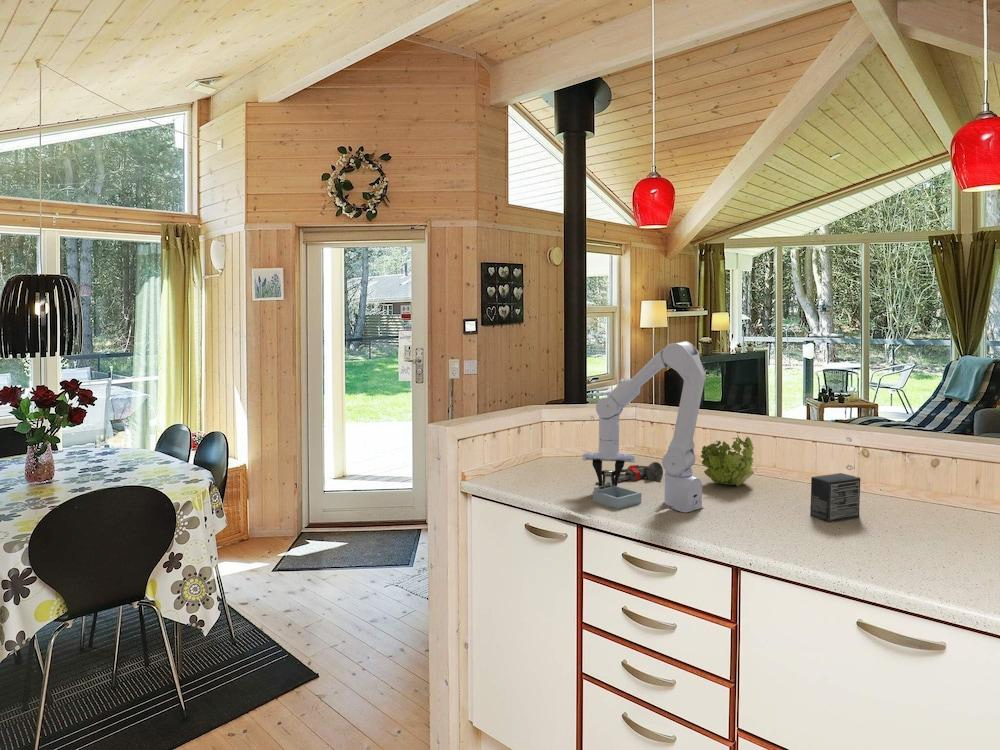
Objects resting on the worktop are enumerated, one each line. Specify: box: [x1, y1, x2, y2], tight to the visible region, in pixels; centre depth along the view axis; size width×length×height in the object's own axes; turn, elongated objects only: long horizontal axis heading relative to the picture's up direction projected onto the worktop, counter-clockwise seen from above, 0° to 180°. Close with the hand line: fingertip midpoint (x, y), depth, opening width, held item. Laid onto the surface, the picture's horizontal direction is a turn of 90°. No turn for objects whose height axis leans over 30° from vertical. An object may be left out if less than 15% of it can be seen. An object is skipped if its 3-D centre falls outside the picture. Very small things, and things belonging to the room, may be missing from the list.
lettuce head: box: [700, 435, 755, 488], centre depth 205 cm, size 18×16×16 cm
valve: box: [595, 461, 664, 486], centre depth 210 cm, size 6×26×15 cm
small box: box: [809, 472, 861, 523], centre depth 173 cm, size 11×6×10 cm, turn 111°
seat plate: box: [593, 486, 603, 491], centre depth 194 cm, size 6×6×2 cm
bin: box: [592, 485, 642, 510], centre depth 184 cm, size 9×9×4 cm
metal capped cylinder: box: [602, 469, 615, 489], centre depth 194 cm, size 4×4×6 cm
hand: (608, 486), depth 194 cm, fingers closed on metal capped cylinder, 4 cm apart
